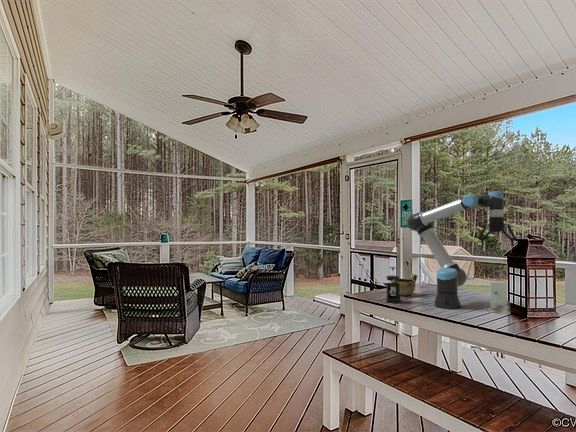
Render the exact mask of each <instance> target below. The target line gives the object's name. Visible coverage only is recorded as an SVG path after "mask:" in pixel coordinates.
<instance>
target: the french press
mask: <svg viewBox="0 0 576 432" xmlns="http://www.w3.org/2000/svg"><path fill="white" fill-rule="evenodd" d="M389 269H391V271H395V269H396V266H395V267H394V266H391V267H389ZM393 279H398V280H399V279H401V276H399V275H394V276H390V275H386V280H387V281H390V282H387V283H385V286H386V299H385V303H388V304H394V305H395V304H401V302H402V301H401V295H400V284H398V283H391V280H393ZM392 287H396V291H394V290H393V289H392ZM391 289H392V290H391Z"/></svg>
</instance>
